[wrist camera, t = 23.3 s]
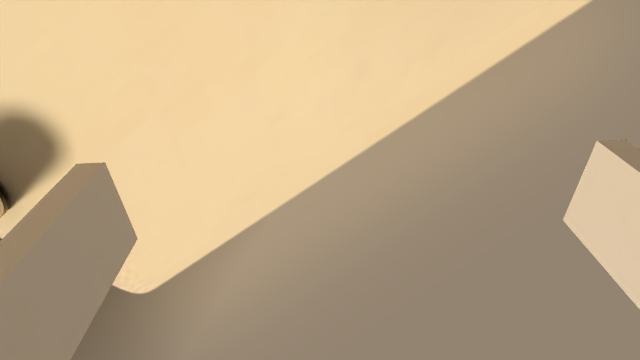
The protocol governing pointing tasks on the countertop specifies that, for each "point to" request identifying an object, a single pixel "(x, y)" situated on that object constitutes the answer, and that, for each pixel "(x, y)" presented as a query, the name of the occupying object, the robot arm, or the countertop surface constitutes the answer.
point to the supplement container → (3, 201)
